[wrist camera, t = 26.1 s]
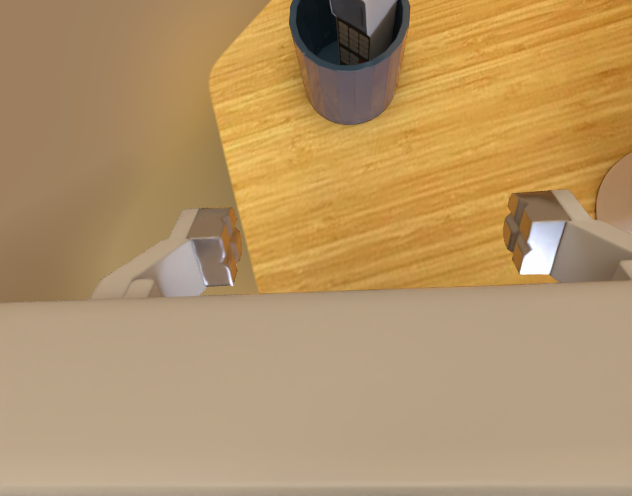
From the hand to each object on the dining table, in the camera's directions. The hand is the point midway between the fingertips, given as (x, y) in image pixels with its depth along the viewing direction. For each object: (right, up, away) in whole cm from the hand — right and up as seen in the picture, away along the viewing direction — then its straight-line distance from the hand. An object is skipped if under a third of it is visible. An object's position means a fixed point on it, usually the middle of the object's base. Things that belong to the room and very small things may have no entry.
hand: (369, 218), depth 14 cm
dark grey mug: (+2, +19, +38) cm, 43 cm away
